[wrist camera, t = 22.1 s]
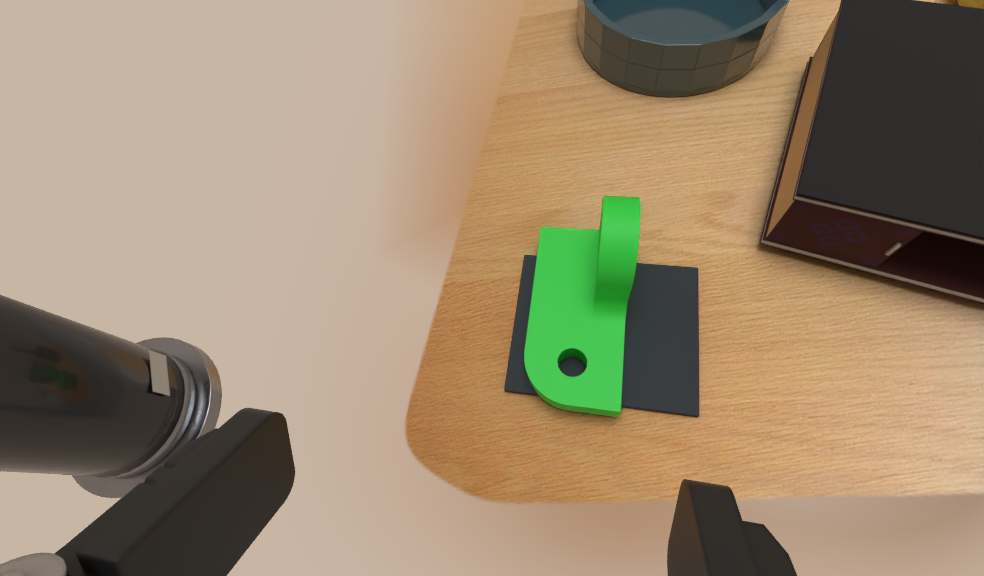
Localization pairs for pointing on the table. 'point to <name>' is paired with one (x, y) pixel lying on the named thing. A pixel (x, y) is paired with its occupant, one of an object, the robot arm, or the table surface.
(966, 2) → the fruit
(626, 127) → the table surface
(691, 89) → the pot
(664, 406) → the mat
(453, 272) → the table surface
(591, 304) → the mechanical part
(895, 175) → the miniature tv stand
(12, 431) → the robot arm
